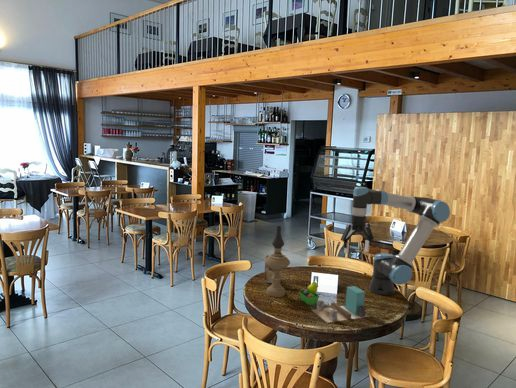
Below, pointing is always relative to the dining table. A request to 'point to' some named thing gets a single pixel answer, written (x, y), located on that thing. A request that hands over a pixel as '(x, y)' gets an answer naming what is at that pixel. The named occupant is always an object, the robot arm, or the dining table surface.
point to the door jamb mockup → (337, 312)
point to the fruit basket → (310, 294)
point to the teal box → (354, 299)
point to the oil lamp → (277, 265)
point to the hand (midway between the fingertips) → (356, 252)
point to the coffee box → (268, 273)
